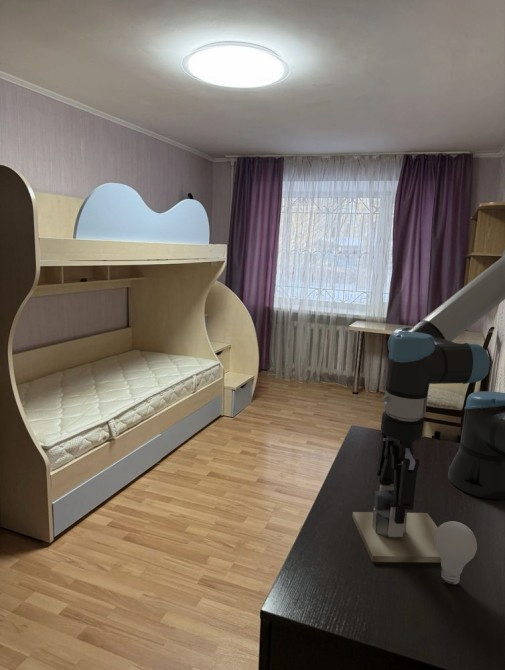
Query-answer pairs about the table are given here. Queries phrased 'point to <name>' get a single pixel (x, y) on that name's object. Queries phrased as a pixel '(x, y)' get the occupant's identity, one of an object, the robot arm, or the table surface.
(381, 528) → the dark grey rounded piece
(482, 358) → the robot arm
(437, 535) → the light bulb
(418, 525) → the socket base
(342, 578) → the table surface
